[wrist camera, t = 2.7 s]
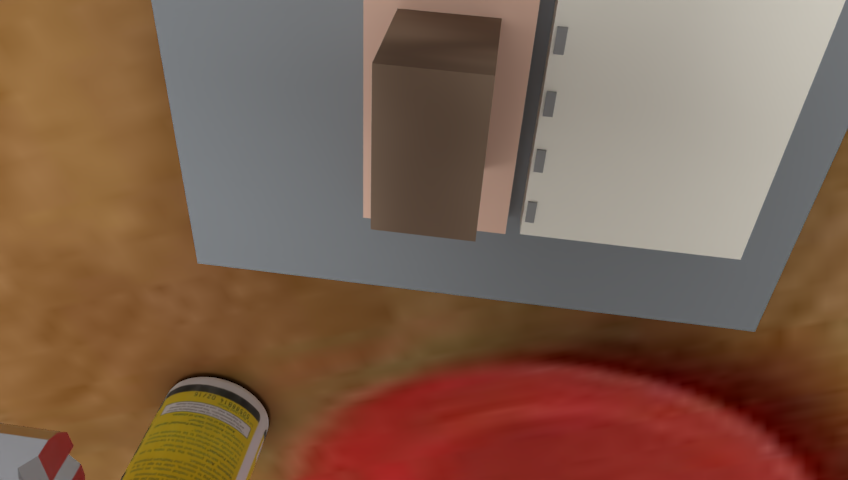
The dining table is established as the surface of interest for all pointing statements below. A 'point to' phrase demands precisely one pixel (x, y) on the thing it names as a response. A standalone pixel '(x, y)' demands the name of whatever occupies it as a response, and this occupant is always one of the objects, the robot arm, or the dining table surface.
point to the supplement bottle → (202, 434)
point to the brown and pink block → (443, 112)
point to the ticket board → (527, 152)
